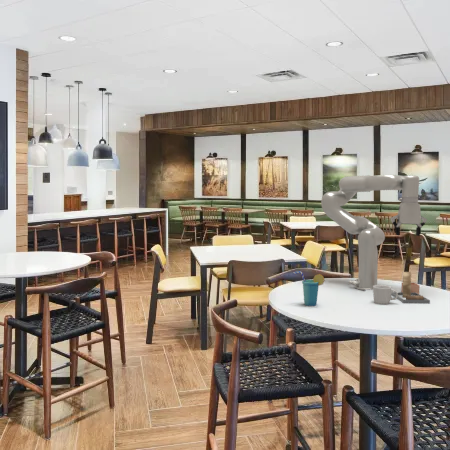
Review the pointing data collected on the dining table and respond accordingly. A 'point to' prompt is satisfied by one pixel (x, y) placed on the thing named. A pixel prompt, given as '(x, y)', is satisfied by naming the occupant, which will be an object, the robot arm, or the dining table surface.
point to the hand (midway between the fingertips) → (407, 235)
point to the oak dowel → (406, 284)
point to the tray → (425, 301)
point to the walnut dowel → (414, 298)
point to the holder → (413, 287)
